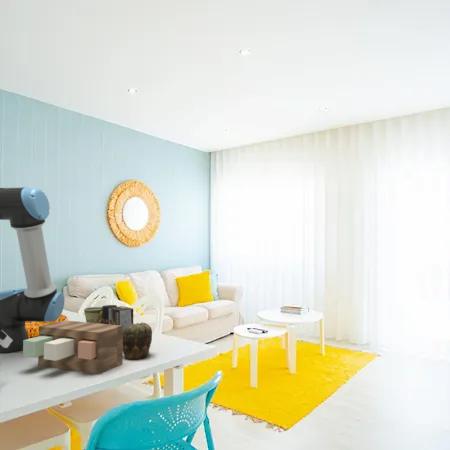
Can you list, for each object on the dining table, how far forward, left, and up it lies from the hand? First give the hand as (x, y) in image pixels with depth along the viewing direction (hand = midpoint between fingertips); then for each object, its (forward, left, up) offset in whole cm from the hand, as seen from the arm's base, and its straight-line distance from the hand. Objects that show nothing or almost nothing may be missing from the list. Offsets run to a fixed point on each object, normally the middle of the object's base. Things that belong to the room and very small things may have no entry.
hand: (8, 343), depth 122 cm
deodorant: (-3, +51, -11) cm, 53 cm away
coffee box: (+9, +43, -11) cm, 46 cm away
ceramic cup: (-25, +69, -11) cm, 75 cm away
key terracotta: (+18, +18, -6) cm, 26 cm away
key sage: (0, +12, -6) cm, 14 cm away
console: (+9, +21, -11) cm, 26 cm away
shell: (+21, +37, -11) cm, 44 cm away
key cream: (+9, +12, -6) cm, 16 cm away
